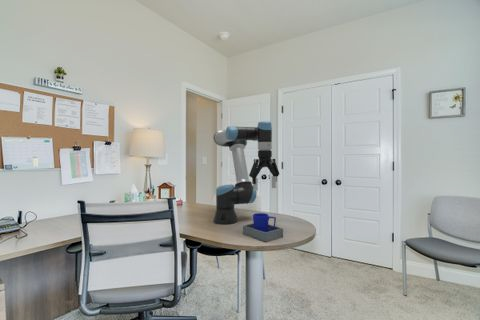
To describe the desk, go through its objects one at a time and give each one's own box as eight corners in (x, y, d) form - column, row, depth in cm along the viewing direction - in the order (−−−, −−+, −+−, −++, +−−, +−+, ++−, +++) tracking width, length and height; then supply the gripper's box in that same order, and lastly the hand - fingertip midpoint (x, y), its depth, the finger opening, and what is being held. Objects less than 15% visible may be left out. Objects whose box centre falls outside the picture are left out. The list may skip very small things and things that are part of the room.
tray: (242, 234, 132) (242, 225, 132) (259, 229, 139) (259, 221, 139) (265, 242, 118) (265, 233, 118) (283, 236, 126) (283, 228, 126)
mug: (274, 237, 123) (274, 217, 123) (251, 235, 127) (251, 216, 127) (277, 232, 131) (276, 213, 131) (255, 230, 135) (254, 212, 135)
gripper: (251, 149, 123) (251, 191, 124) (285, 150, 138) (285, 187, 139) (242, 150, 129) (242, 190, 130) (276, 150, 144) (276, 186, 145)
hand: (264, 189), depth 134 cm, fingers open, 13 cm apart
